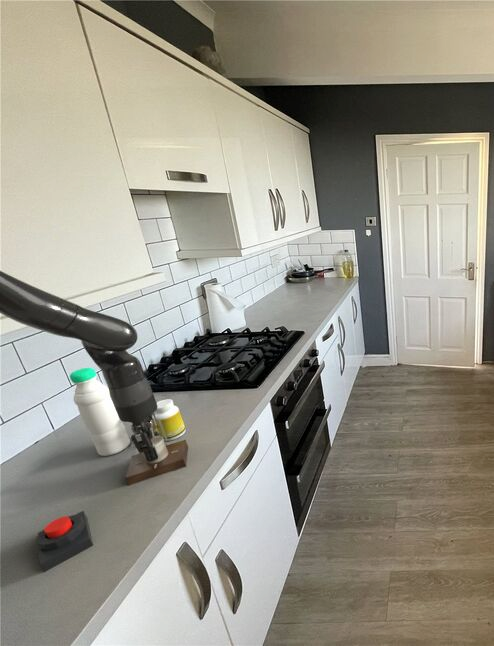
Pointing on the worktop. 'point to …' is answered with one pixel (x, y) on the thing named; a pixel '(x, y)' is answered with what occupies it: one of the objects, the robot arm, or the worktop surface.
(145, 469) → the dimmer panel
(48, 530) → the light button
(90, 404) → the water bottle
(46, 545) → the switch block
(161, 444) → the dimmer knob
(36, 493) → the worktop surface
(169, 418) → the pill bottle
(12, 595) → the worktop surface
